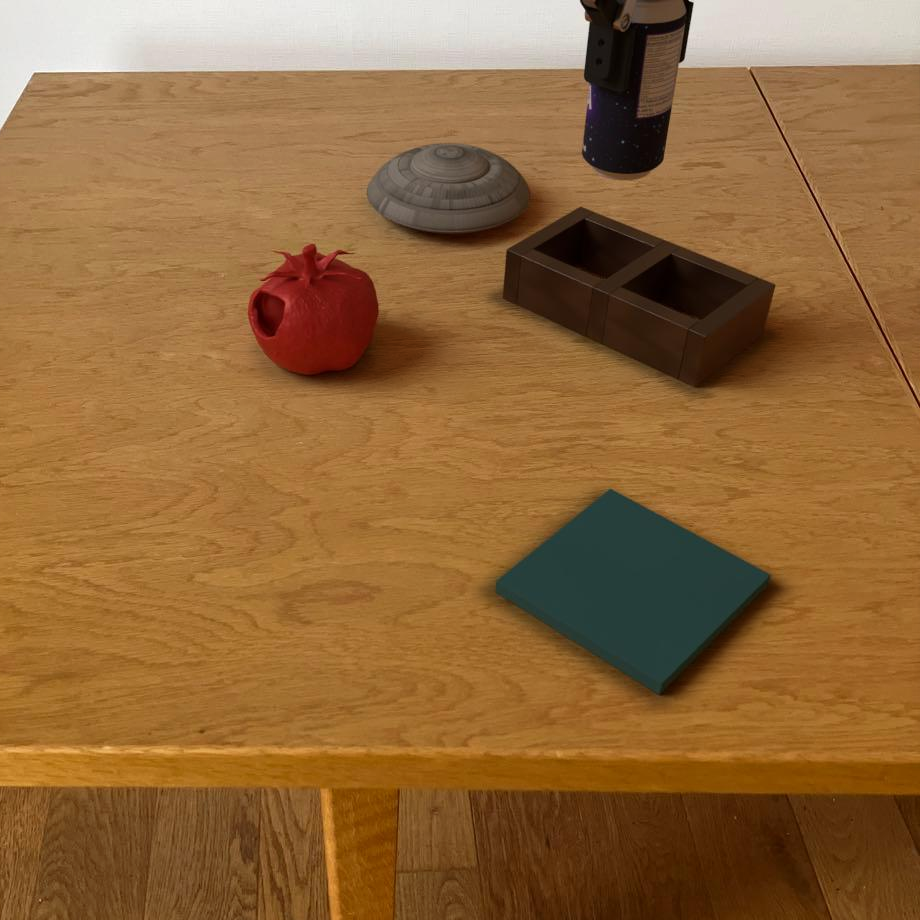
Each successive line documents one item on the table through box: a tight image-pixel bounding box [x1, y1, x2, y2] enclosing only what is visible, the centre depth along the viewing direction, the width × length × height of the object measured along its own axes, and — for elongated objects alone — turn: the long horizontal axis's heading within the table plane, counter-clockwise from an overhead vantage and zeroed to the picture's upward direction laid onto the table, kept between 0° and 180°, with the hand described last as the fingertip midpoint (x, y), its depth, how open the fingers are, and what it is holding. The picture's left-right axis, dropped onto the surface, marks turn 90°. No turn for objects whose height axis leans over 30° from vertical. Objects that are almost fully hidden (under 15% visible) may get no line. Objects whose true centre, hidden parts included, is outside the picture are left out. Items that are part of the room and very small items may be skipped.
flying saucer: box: [366, 142, 532, 235], centre depth 109 cm, size 15×15×6 cm
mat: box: [494, 488, 772, 695], centre depth 74 cm, size 12×12×1 cm
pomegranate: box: [247, 243, 380, 376], centre depth 90 cm, size 10×10×9 cm
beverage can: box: [581, 0, 687, 181], centre depth 81 cm, size 6×6×12 cm
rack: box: [502, 206, 776, 388], centre depth 95 cm, size 18×10×4 cm, turn 47°
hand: (634, 69), depth 80 cm, fingers closed on beverage can, 5 cm apart
